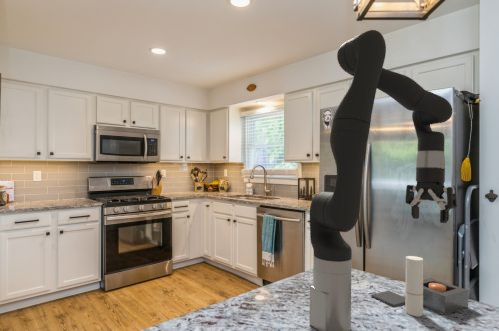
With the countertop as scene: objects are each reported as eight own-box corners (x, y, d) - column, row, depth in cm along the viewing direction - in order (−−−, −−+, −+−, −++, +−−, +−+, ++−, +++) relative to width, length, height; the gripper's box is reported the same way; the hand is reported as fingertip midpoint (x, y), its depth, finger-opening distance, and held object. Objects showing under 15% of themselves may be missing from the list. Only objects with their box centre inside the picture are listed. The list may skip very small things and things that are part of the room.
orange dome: (440, 296, 89) (440, 289, 89) (425, 290, 93) (425, 284, 93) (449, 293, 91) (449, 286, 91) (434, 288, 95) (434, 282, 95)
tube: (425, 317, 83) (425, 260, 83) (408, 315, 84) (408, 259, 84) (419, 310, 87) (420, 256, 87) (403, 308, 88) (403, 255, 88)
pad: (393, 306, 89) (393, 304, 89) (371, 296, 96) (371, 294, 96) (411, 301, 93) (411, 299, 93) (388, 292, 100) (388, 290, 100)
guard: (444, 314, 84) (444, 296, 85) (408, 299, 94) (408, 283, 94) (467, 307, 89) (467, 290, 90) (430, 293, 99) (430, 278, 99)
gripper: (400, 166, 98) (399, 217, 98) (447, 165, 85) (446, 225, 85) (416, 167, 102) (414, 217, 101) (462, 167, 89) (461, 224, 88)
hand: (429, 220), depth 93 cm, fingers open, 8 cm apart
